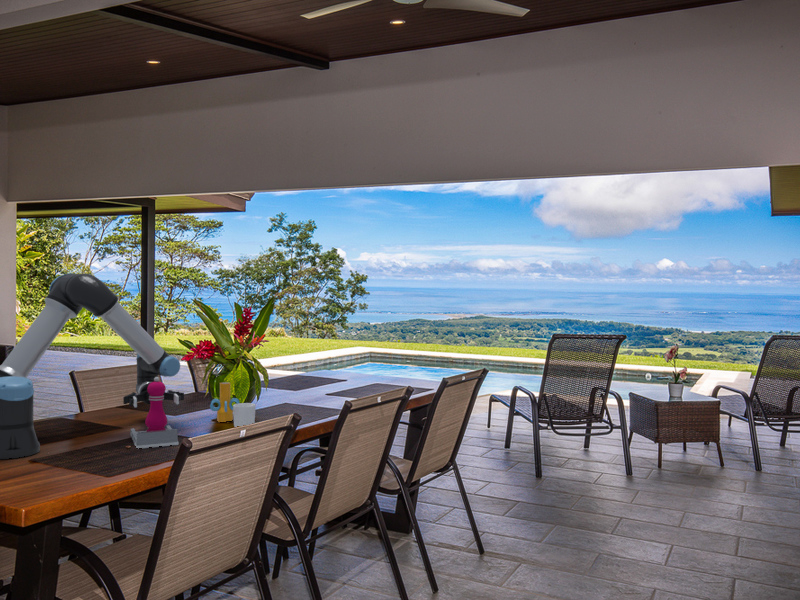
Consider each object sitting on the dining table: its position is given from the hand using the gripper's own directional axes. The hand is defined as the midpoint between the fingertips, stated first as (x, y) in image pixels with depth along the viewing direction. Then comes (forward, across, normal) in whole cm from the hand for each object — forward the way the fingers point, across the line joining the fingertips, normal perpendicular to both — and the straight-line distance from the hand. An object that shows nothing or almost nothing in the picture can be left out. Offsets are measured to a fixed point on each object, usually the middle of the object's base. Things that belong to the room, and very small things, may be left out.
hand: (157, 401), depth 229 cm
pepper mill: (-3, 0, -12) cm, 12 cm away
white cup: (+2, -30, -13) cm, 32 cm away
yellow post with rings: (-20, -27, -13) cm, 37 cm away
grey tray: (+1, +1, -13) cm, 13 cm away
